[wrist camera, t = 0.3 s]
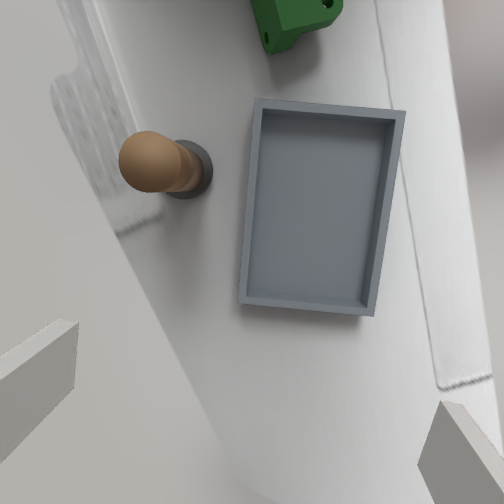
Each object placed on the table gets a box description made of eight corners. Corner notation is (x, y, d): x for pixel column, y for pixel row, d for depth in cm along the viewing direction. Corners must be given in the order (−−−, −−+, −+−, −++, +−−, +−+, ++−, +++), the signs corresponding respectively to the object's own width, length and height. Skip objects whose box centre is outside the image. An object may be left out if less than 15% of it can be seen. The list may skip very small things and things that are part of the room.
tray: (255, 106, 36) (254, 98, 33) (392, 118, 36) (406, 110, 33) (240, 293, 40) (237, 303, 37) (364, 305, 40) (373, 316, 36)
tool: (158, 138, 37) (108, 116, 26) (214, 143, 37) (190, 123, 26) (156, 196, 39) (107, 199, 27) (210, 201, 38) (186, 206, 27)
